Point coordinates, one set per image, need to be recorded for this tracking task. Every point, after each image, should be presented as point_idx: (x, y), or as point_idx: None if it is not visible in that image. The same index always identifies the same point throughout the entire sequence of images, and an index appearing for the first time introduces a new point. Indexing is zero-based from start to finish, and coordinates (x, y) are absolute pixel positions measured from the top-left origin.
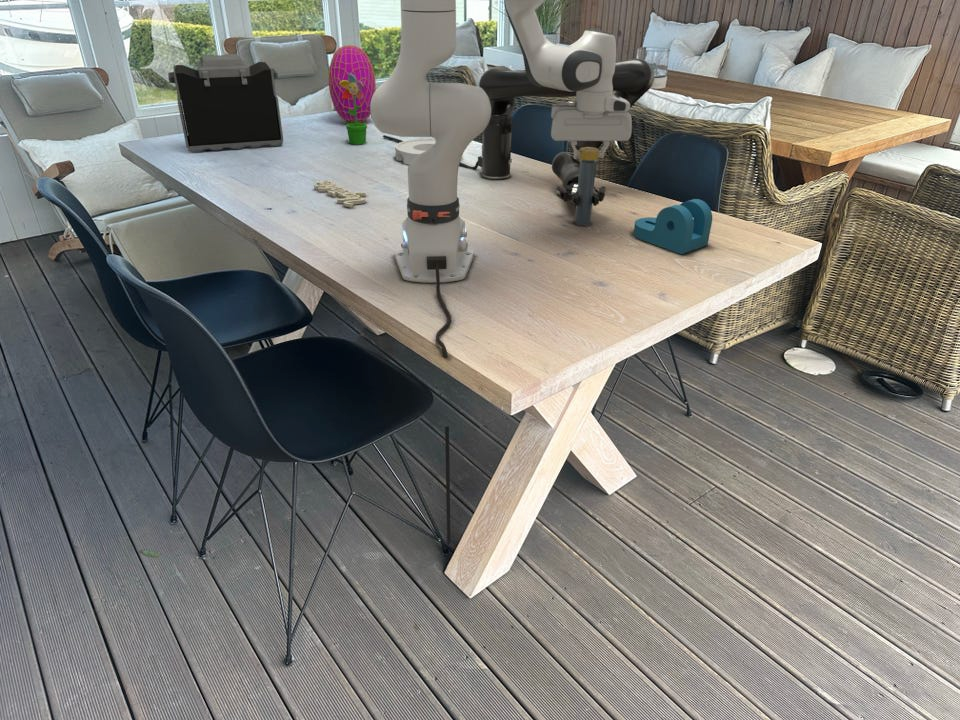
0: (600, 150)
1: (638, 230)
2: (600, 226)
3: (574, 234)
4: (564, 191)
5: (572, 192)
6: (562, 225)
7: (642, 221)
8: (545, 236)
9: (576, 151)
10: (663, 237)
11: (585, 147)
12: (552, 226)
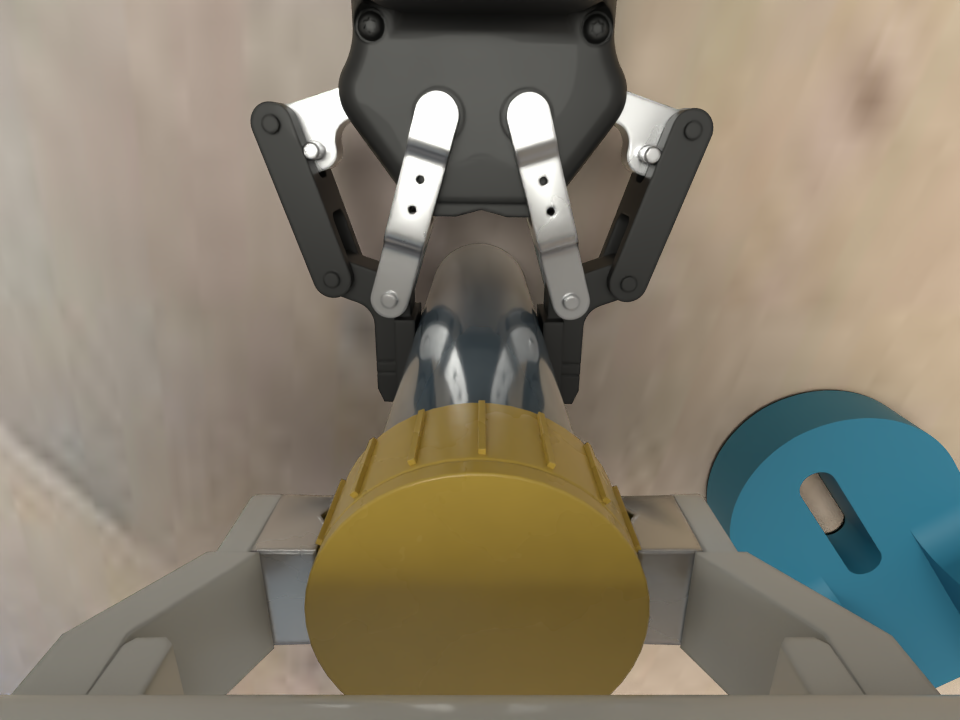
0: (687, 568)
1: None
2: None
3: None
4: (315, 265)
5: (381, 293)
6: (355, 326)
7: (788, 482)
8: (258, 481)
9: (256, 651)
10: None
11: (429, 506)
12: (297, 341)
